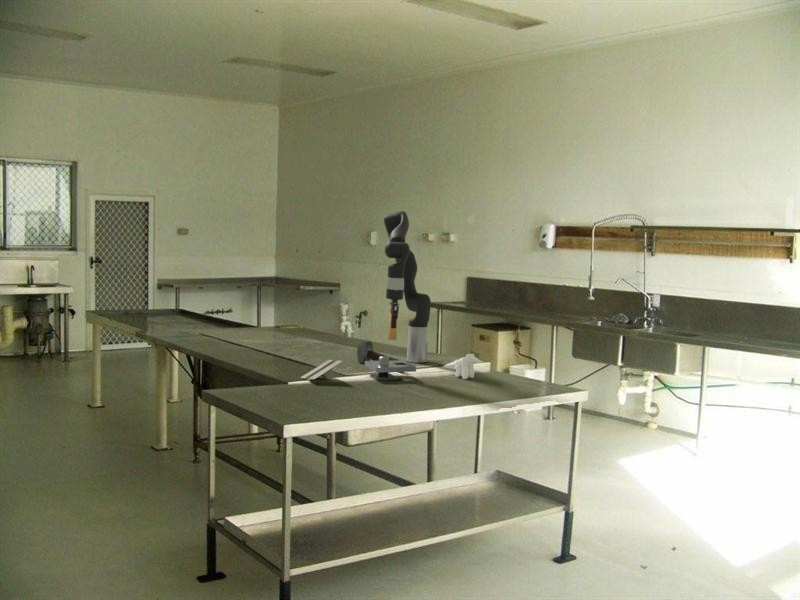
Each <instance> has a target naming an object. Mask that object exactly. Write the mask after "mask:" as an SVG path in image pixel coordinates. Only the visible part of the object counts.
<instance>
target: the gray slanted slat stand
mask: <svg viewBox="0 0 800 600" xmlns="http://www.w3.org/2000/svg"><path fill="white" fill-rule="evenodd" d="M342 362H343V360H340V359H339V360H336V361H334V359H328V360H326V361H324V362H323V363H321V364H320V365H318V366H317V367H315V368H314V369H312V370H310V371H309V372H307V373H306V374H303V375H302V376H301V377H300V378H301V379H304V380H306V381H311V380H315V379H317V378H319V377H320V376H321V377H322V378H323V379H324V380H326V381H329V380H331V379H333V378H334V377H336V374H335V371H334V370H333V368H334V367H335V366H337V365H339V364H340V363H342Z"/></svg>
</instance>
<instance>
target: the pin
mask: <svg viewBox="0 0 800 600" xmlns="http://www.w3.org/2000/svg"><path fill="white" fill-rule="evenodd" d="M399 309H400V308H399ZM399 309H398V312H399V311H400V310H399ZM388 310H390V307H388ZM393 316H396V314H393ZM397 332H398V320H397V321H396V328H391V314H390V313H389V321H388V336H387V337H388V340H390V341H396V340H397Z"/></svg>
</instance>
